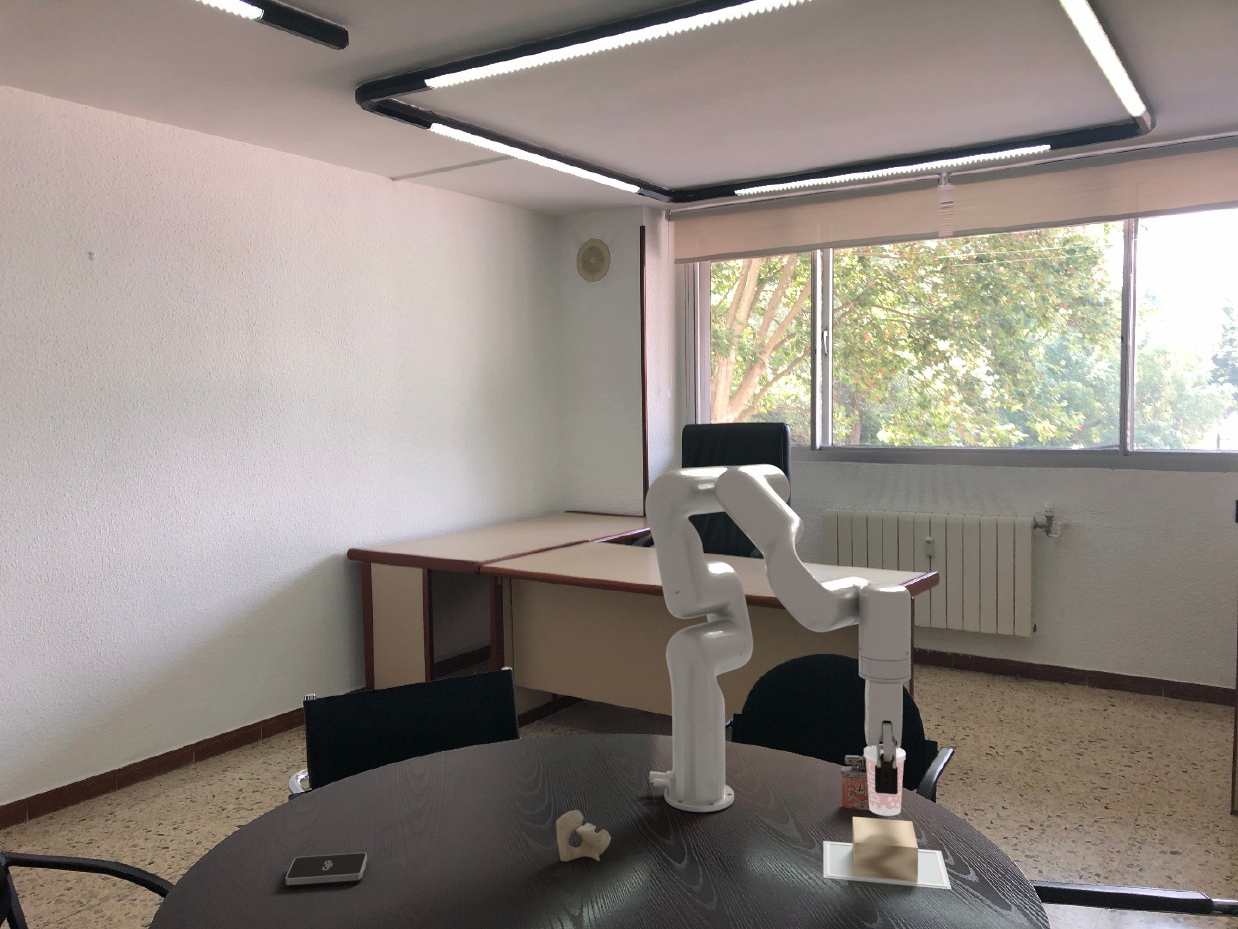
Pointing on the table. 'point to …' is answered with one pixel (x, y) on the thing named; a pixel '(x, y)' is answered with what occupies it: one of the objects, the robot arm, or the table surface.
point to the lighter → (855, 783)
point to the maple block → (885, 849)
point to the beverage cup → (880, 801)
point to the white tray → (842, 867)
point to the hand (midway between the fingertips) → (884, 783)
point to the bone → (591, 841)
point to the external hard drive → (326, 870)
